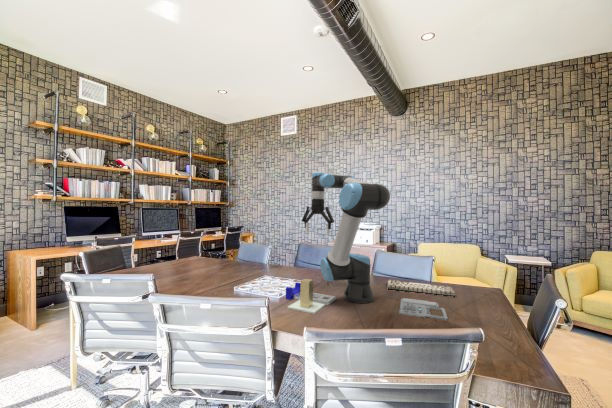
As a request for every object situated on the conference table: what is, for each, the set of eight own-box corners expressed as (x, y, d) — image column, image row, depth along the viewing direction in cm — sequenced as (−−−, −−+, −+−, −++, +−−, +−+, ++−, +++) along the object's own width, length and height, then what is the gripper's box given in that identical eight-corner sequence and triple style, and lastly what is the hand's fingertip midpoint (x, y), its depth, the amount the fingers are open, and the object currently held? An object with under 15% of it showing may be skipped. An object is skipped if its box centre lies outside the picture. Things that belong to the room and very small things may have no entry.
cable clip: (294, 292, 158) (294, 282, 158) (301, 293, 156) (301, 283, 156) (283, 298, 148) (283, 287, 148) (290, 300, 146) (290, 288, 146)
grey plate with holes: (335, 299, 147) (335, 296, 147) (328, 305, 138) (328, 301, 138) (301, 293, 156) (301, 290, 156) (292, 298, 148) (292, 295, 148)
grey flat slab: (400, 295, 149) (442, 300, 142) (400, 300, 149) (442, 305, 142) (398, 309, 128) (448, 316, 121) (398, 315, 127) (448, 322, 121)
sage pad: (324, 305, 137) (324, 304, 137) (314, 314, 126) (314, 312, 126) (299, 301, 144) (299, 299, 144) (287, 308, 133) (287, 306, 133)
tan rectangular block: (312, 304, 136) (313, 279, 136) (308, 307, 132) (309, 281, 132) (304, 303, 138) (305, 278, 138) (300, 306, 134) (300, 280, 134)
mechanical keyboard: (451, 289, 171) (451, 284, 171) (457, 299, 153) (457, 293, 153) (386, 284, 182) (386, 278, 182) (385, 292, 164) (385, 286, 164)
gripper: (339, 198, 167) (339, 234, 167) (302, 198, 179) (301, 232, 178) (335, 198, 161) (334, 235, 160) (296, 198, 172) (296, 233, 172)
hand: (317, 234), depth 169 cm, fingers open, 13 cm apart
